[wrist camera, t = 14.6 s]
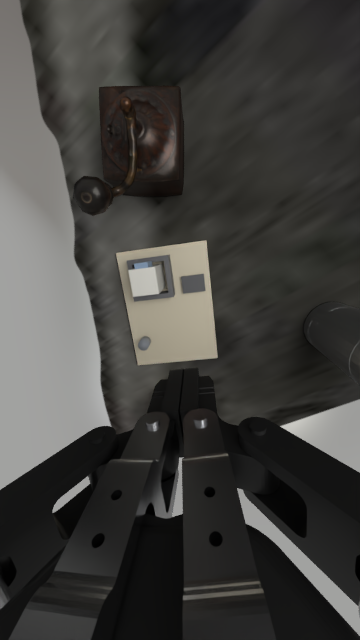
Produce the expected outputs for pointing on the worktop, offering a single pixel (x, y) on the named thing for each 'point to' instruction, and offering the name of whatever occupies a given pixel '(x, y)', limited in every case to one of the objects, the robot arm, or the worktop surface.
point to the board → (172, 305)
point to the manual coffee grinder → (136, 146)
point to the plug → (147, 279)
